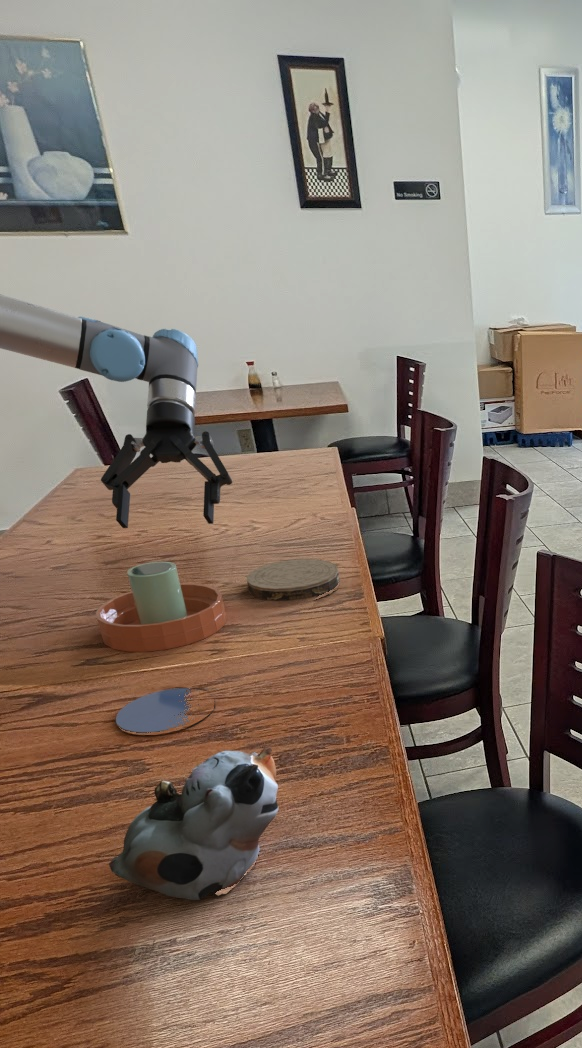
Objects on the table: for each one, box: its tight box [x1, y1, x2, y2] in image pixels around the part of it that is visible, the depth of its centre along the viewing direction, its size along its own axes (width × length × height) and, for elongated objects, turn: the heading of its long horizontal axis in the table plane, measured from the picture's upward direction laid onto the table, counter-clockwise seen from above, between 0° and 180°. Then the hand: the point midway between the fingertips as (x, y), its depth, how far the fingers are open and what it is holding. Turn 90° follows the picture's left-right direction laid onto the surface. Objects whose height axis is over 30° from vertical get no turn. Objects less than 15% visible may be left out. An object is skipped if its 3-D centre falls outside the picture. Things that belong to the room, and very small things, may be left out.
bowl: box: [94, 582, 228, 653], centre depth 131 cm, size 18×18×5 cm
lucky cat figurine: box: [108, 745, 279, 901], centre depth 78 cm, size 15×12×14 cm
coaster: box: [115, 687, 199, 733], centre depth 108 cm, size 12×12×1 cm
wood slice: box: [246, 558, 341, 602], centre depth 149 cm, size 16×16×3 cm
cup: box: [126, 561, 188, 625], centre depth 130 cm, size 7×7×10 cm
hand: (165, 522), depth 135 cm, fingers open, 13 cm apart
